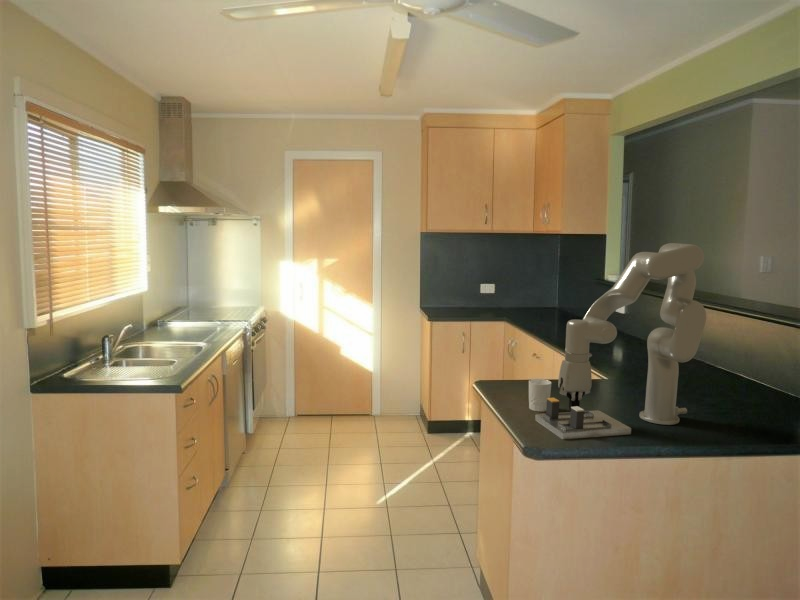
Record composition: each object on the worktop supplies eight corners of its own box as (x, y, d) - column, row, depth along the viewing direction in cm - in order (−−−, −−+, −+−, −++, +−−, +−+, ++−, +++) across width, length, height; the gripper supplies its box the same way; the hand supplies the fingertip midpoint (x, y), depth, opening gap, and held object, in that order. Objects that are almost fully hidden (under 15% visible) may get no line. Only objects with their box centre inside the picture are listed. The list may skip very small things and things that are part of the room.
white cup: (546, 405, 213) (547, 378, 212) (552, 412, 206) (554, 384, 204) (524, 405, 213) (526, 378, 212) (530, 412, 205) (531, 384, 204)
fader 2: (576, 424, 187) (578, 406, 186) (583, 428, 184) (584, 409, 183) (569, 425, 187) (571, 406, 186) (575, 428, 183) (577, 410, 182)
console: (598, 415, 203) (598, 407, 203) (630, 434, 186) (631, 425, 185) (535, 420, 197) (535, 411, 197) (562, 439, 180) (563, 430, 179)
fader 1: (552, 415, 196) (553, 397, 195) (558, 418, 193) (559, 400, 192) (546, 415, 195) (547, 398, 195) (551, 418, 192) (552, 401, 191)
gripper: (590, 353, 199) (587, 406, 201) (550, 355, 195) (548, 409, 197) (603, 358, 192) (600, 413, 194) (562, 361, 188) (559, 416, 190)
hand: (573, 410), depth 196 cm, fingers closed
